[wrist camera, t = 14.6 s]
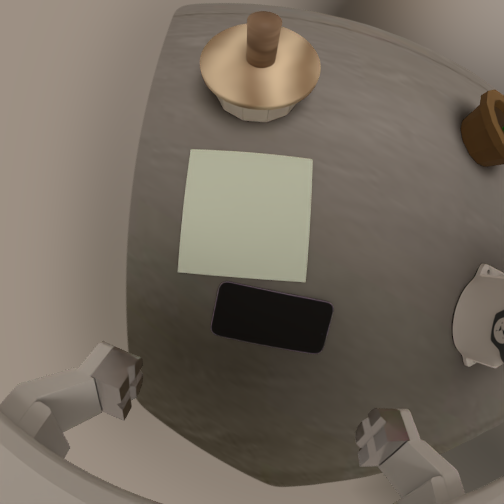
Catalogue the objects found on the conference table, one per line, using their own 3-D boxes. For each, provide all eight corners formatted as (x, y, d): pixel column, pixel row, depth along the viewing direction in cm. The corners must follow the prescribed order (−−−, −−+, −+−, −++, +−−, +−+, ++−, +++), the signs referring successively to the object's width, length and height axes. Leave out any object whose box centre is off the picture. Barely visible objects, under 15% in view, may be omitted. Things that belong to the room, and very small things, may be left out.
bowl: (298, 63, 35) (305, 40, 29) (298, 126, 35) (307, 105, 29) (221, 57, 35) (219, 32, 29) (211, 118, 35) (205, 96, 29)
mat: (311, 160, 35) (312, 159, 35) (304, 281, 35) (305, 282, 34) (191, 150, 35) (191, 149, 34) (178, 272, 34) (177, 272, 34)
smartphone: (220, 279, 34) (335, 302, 34) (221, 278, 35) (333, 301, 35) (209, 334, 34) (321, 355, 34) (210, 332, 35) (319, 352, 35)
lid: (316, 36, 29) (329, -3, 21) (319, 117, 29) (341, 80, 21) (210, 26, 29) (205, -14, 21) (191, 107, 29) (178, 66, 20)
